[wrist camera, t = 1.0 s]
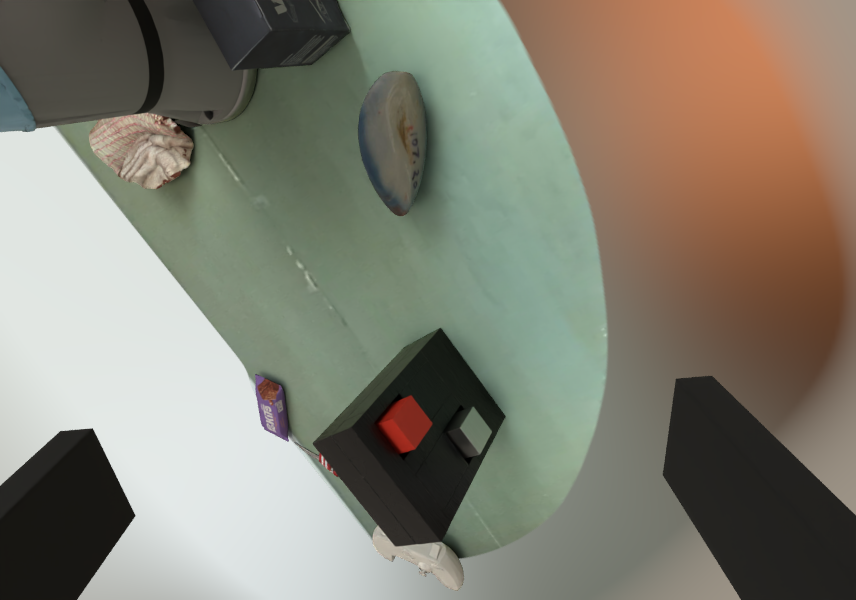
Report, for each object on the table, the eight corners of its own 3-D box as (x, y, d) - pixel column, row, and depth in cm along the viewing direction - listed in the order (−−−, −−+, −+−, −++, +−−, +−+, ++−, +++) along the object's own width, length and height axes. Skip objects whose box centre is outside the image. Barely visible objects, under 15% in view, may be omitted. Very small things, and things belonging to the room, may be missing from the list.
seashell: (381, 231, 43) (410, 196, 33) (331, 144, 42) (346, 82, 33) (436, 203, 45) (478, 162, 35) (389, 120, 44) (419, 55, 35)
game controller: (376, 561, 71) (356, 538, 65) (389, 533, 74) (371, 508, 67) (461, 601, 65) (449, 581, 58) (472, 569, 68) (461, 546, 61)
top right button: (411, 394, 39) (391, 418, 37) (433, 423, 40) (415, 449, 37) (389, 404, 41) (369, 427, 39) (410, 431, 42) (392, 456, 39)
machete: (296, 447, 73) (294, 449, 73) (295, 440, 73) (293, 442, 72) (368, 485, 68) (366, 488, 68) (368, 479, 67) (366, 481, 67)
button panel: (440, 327, 48) (351, 427, 36) (505, 416, 49) (441, 542, 37) (404, 347, 52) (311, 443, 39) (465, 429, 53) (395, 547, 41)
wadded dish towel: (26, 90, 51) (84, 26, 44) (75, 77, 56) (134, 17, 49) (127, 207, 57) (192, 167, 51) (163, 186, 62) (227, 147, 55)
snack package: (284, 446, 70) (259, 433, 72) (293, 437, 72) (268, 425, 74) (276, 389, 64) (249, 377, 66) (286, 381, 66) (260, 369, 68)
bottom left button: (473, 406, 44) (460, 427, 42) (492, 431, 44) (480, 454, 42) (451, 413, 46) (437, 435, 44) (470, 438, 46) (457, 460, 44)
